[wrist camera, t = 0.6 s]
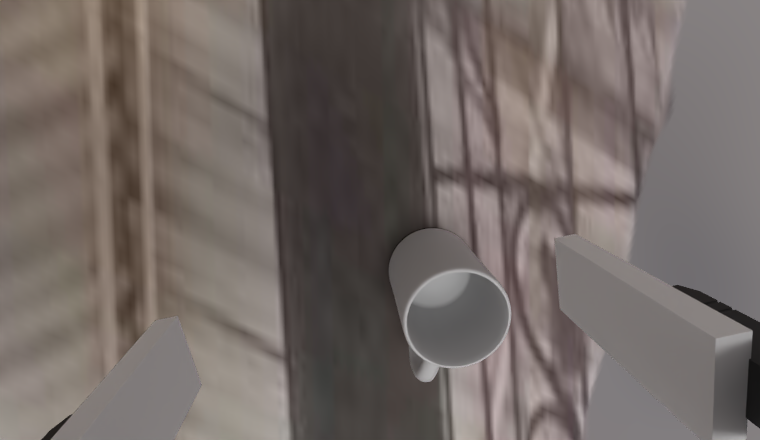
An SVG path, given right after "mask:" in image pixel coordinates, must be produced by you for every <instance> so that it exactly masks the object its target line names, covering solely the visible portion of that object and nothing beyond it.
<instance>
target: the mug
mask: <svg viewBox="0 0 760 440" xmlns="http://www.w3.org/2000/svg"><path fill="white" fill-rule="evenodd" d="M389 279H390V283H391V286H392V290H393V293H394V297H395V301H396V305H397V309H398V312H399V316H400V320H401V324H402V328H403V332H404V335H405V337H406V340H407V342H408V344H409V358H410V364H411V368H412V370H413V373H414V375H415V376H416V378H418V379H419V380H420V381H423V382H429V381H432V380H433V379H434V377H435V375H436V374H437V371H438V369H439V367H445V368H461V367H466V366H470V365H473V364H476V363H478V362H480V361H482V360H484V359H485V358H487V357H488V356H490V355H491V354H492V353H493V352H494V351H495V350H496V349H497V348H498V347H499V346H500V345H501V343H502V342H503V340H504V339H505V337H506V335H507V332H508V330H509V327H510V322H511V306H510V302H509V299H508V296H507V294H506V292H505V290H504V289H503V287H502V286H501V284H500V283H499V282H498V281H497V279H496V278H495V277H494V276H493V275H492V274H491V273H490V271H489V270H488V269H487V268H486V267H485V266H484V265H483V263H482V262H481V261H480V260H479V259H478V258H477V257H476V255H475V254H474V253H473V252H472V251H471V249H470V248H469V247H468V246H467V244H466V243H465V242H464V241H463V240H462V239H461V238H460V237H458V236H457V235H456V234H454V233H452V232H450V231H447V230H444V229H439V228H427V229H422V230H419V231H416V232H414V233H412V234H410V235H408V236H407V237H406V238H404V239H403V240H402V241H401V242H400V243H399V244H398V246H397V247H396V248H395V250H394V252H393V254H392V256H391V259H390V263H389Z"/></svg>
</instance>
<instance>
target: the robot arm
mask: <svg viewBox="0 0 760 440" xmlns="http://www.w3.org/2000/svg"><path fill="white" fill-rule="evenodd" d="M554 239H555V253H556V266H557V279H558V292H559V305H560V310H561V311H562V312H564V313H565V314H566V315H567V316H568V317H569V318H570V319H571V320H572V321H573V322H574V323H575V324H576V325H577V326H579V327H580V328H581V329H582V330H583V331H584V332H585V333H586V334H587V335H588V336H589V337H590V338H591V339H592V340H594V341H595V342H596V343H597V344H598V345H599V346H600V347H601V348H602V349H603V350H604V351H605V352H606V353H608V354H609V355H610V356H611V357H612V358H613V359H614V360H615V361H616V362H617V363H618V364H619V365H620V366H621V367H623V368H624V369H625V370H626V371H627V372H628V373H629V374H630V375H631V376H632V377H633V378H634V379H636V380H637V381H638V382H639V383H640V384H641V385H642V386H643V387H644V388H645V389H646V390H647V391H648V392H649V393H651V394H652V395H653V396H654V397H655V398H656V399H657V400H658V401H659V402H660V403H661V404H662V405H663V406H665V407H666V408H667V409H668V410H669V411H670V412H671V413H672V414H673V415H674V416H675V417H676V418H677V419H679V420H680V422H682V423H683V424H684V425H685V426H686V427H687V428H688V429H689V430H690V431H691V432H692V433H693V434H695V436H697V437H698V438H699V439H700V440H746V433H747V419H748V420H750V421H751V422H752V423H753V424H755V425H756V426H757V427H759V428H760V322H758V321H756V320H754V319H752V318H750V317H748V316H747V315H745V314H743V313H741V312H739V311H737V310H732V308H731V307H729V306H727V305H725V304H723V303H721V302H719V303H718V302H717V300H716V299H714V298H712V297H710V296H708V295H706V294H704V293H702V292H700V291H697V290H693V289H690V288H686V287H683V286H679V285H675V286H670V285H668V284H666V283H665V282H663V281H661V280H659V279H657V278H655V277H654V276H652V275H650V274H648V273H646V272H644V271H643V270H641V269H639V268H637V267H635V266H633V265H632V264H630V263H628V262H626V261H624V260H622V259H621V258H619V257H617V256H615V255H613V254H612V253H610V252H608V251H606V250H604V249H602V248H601V247H599V246H597V245H595V244H593V243H591V242H590V241H588V240H586V239H584V238H582V237H580V236H579V235H577V234H573V235H568V236H563V237H558V238H554ZM201 385H202V384H201V381H200V378H199V375H198V373H197V370H196V367H195V364H194V361H193V358H192V355H191V352H190V350H189V347H188V344H187V341H186V338H185V335H184V332H183V330H182V327H181V324H180V321H179V318H178V316H174V317H169V318H165V319H160V320H155V321H154V322H153V323H152V324H151V326H150V327H149V328H148V329H147V330H146V331H145V332H144V334H143V335H142V336H141V337H140V338H139V339H138V340H137V342H136V343H135V344H134V345H133V346H132V347H131V348H130V350H129V351H128V352H127V353H126V354H125V355H124V356H123V358H122V359H121V360H120V361H119V362H118V363H117V364H116V366H115V367H114V368H113V369H112V370H111V371H110V372H109V374H108V375H107V376H106V377H105V378H104V379H103V380H102V381H101V383H100V384H99V385H98V386H97V387H96V388H95V389H94V391H93V392H92V393H91V394H90V395H89V396H88V397H87V399H86V400H85V401H84V402H83V403H82V404H81V405H80V407H79V408H78V409H77V410H76V411H75V412H74V413H73V414H72V415H70V416H68V417H67V418H66V419H64V420H63V421H62V422H60V423H59V424H58V425H57V426H55V427H54V428H53V429H51V430H50V431H49V432H48V433H47V434H46V435H45V436H44V438H43V439H42V440H174V439H175V437H176V435H177V433H178V431H179V429H180V427H181V425H182V423H183V421H184V419H185V417H186V415H187V413H188V411H189V409H190V407H191V405H192V403H193V401H194V399H195V397H196V395H197V393H198V391H199V389H200V387H201Z"/></svg>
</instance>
